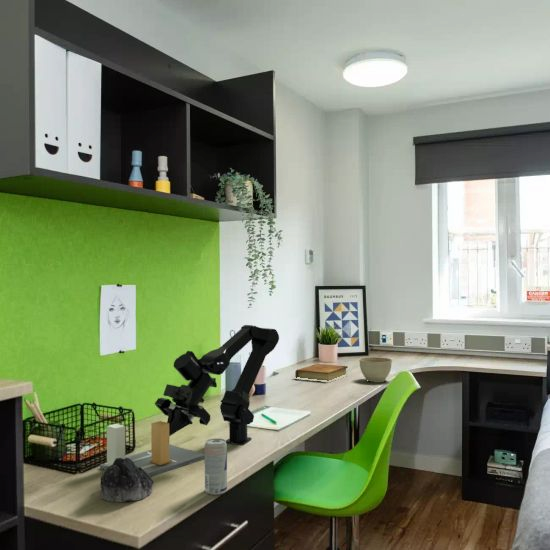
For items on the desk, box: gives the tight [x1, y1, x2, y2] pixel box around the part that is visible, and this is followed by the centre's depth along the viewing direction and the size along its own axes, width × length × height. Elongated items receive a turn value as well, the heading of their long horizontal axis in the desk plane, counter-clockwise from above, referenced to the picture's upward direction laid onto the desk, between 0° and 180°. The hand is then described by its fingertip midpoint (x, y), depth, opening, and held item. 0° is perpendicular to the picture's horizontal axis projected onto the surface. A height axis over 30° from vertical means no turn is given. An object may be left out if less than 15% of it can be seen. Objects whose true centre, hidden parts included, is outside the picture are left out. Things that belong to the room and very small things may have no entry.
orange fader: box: [149, 420, 172, 465], centre depth 154 cm, size 4×5×10 cm
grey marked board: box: [99, 444, 205, 478], centre depth 157 cm, size 24×16×1 cm, turn 140°
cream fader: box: [104, 423, 126, 467], centre depth 151 cm, size 4×5×10 cm
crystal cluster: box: [99, 458, 154, 503], centre depth 135 cm, size 13×14×10 cm
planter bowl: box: [358, 356, 393, 383], centre depth 280 cm, size 16×16×11 cm
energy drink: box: [204, 438, 228, 496], centre depth 136 cm, size 5×5×12 cm
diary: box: [294, 363, 349, 381], centre depth 291 cm, size 23×19×6 cm
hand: (165, 436), depth 155 cm, fingers closed, pressing on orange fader
